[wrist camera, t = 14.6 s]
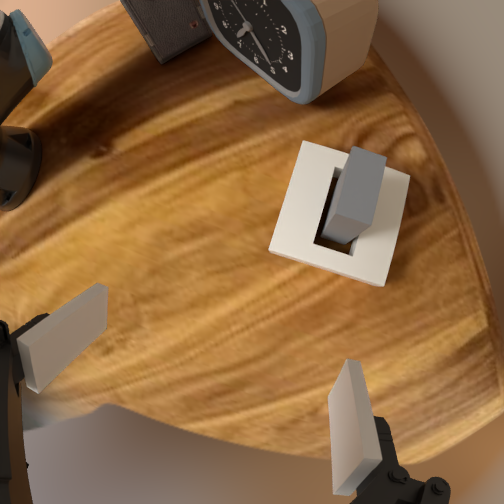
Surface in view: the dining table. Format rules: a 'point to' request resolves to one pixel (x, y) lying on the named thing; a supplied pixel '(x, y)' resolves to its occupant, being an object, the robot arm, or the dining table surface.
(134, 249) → the dining table surface
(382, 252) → the white flat frame block
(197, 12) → the camera
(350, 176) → the grey rectangular peg
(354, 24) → the alarm clock
